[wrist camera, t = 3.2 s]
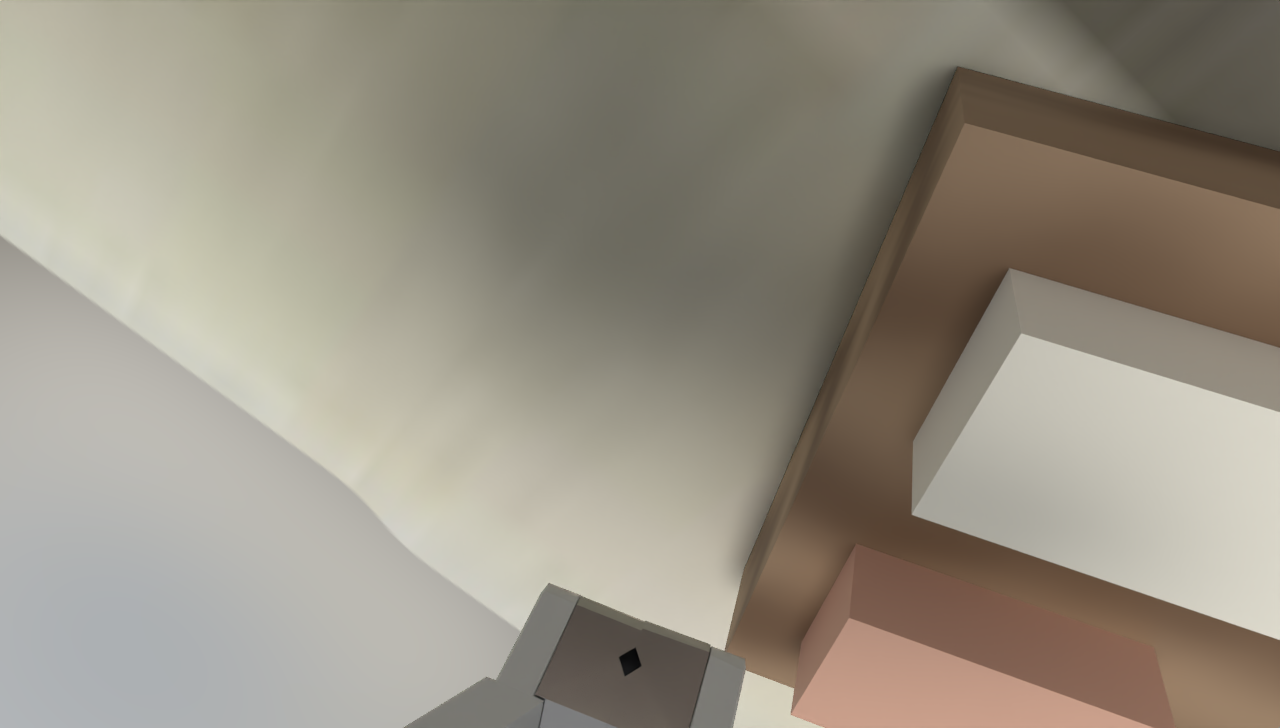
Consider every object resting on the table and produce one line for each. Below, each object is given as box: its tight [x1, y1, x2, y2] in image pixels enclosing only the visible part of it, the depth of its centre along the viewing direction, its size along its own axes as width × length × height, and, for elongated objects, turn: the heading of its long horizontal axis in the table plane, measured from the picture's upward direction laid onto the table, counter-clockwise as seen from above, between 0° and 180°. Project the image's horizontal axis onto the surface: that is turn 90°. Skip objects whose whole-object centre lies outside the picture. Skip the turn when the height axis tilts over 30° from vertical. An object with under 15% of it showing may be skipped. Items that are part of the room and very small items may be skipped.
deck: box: [725, 67, 1280, 728], centre depth 21 cm, size 19×14×4 cm
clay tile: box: [791, 544, 1176, 728], centre depth 21 cm, size 5×8×2 cm, turn 80°
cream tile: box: [912, 268, 1280, 640], centre depth 16 cm, size 5×8×2 cm, turn 80°
